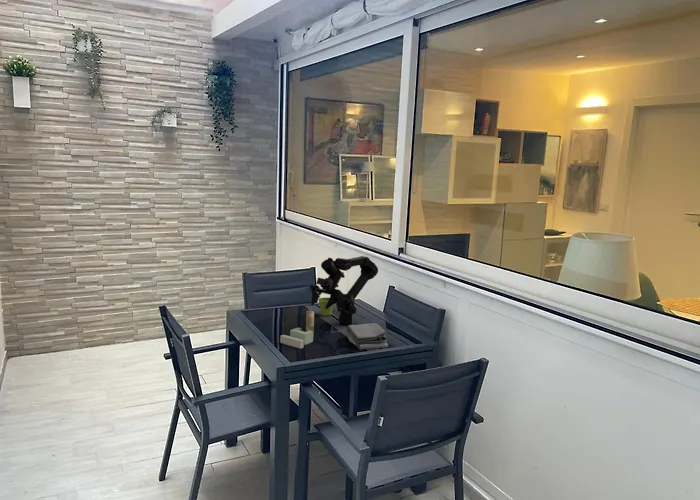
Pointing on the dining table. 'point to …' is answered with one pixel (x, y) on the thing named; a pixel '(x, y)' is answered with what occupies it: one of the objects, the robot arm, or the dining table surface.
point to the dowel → (310, 321)
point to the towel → (367, 336)
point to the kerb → (291, 341)
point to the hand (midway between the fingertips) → (318, 306)
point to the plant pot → (323, 304)
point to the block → (302, 335)
